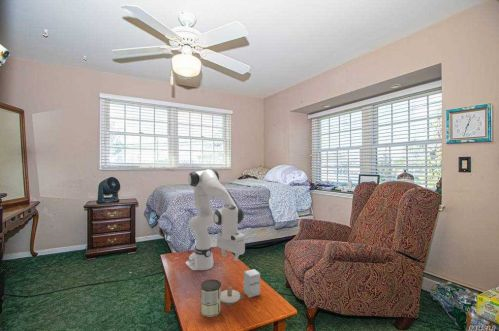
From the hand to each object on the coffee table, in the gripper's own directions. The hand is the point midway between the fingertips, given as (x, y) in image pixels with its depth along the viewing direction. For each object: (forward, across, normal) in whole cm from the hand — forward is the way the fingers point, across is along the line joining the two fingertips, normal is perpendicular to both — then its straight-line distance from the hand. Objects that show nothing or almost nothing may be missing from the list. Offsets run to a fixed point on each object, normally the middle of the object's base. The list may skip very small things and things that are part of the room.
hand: (230, 258), depth 135 cm
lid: (+22, 0, 0) cm, 22 cm away
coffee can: (+23, +2, -15) cm, 27 cm away
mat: (+22, 0, 0) cm, 23 cm away
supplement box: (+23, +6, +12) cm, 26 cm away
